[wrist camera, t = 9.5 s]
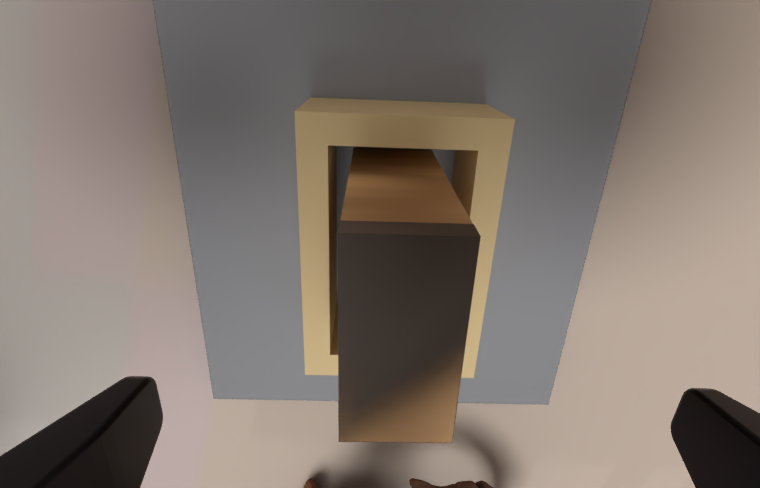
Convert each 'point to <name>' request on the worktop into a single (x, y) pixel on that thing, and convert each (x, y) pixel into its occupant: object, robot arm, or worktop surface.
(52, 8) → the worktop surface
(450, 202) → the wood topped block
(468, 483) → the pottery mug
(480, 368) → the grey board with socket
